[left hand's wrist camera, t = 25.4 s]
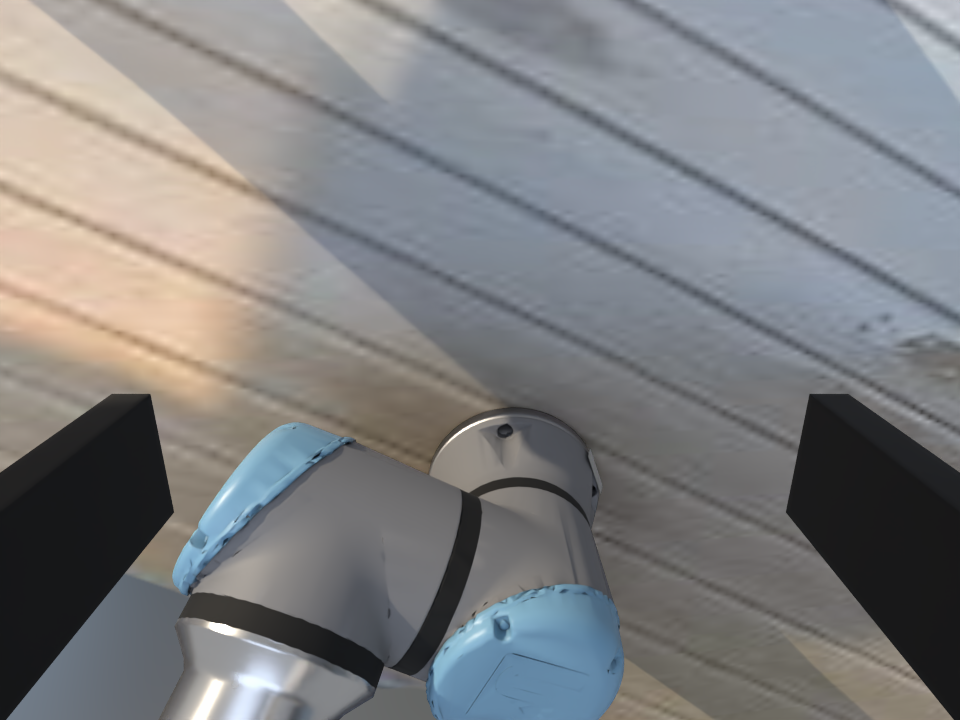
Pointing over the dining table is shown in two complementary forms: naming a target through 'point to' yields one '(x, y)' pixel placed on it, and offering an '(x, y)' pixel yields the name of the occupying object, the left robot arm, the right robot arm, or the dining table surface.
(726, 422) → the dining table surface
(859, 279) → the dining table surface
